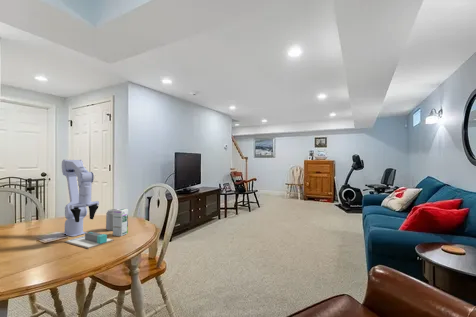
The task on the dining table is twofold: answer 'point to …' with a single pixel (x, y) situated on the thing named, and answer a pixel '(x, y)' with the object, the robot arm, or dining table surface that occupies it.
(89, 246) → the notepad
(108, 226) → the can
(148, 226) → the dining table surface
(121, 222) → the syrup box
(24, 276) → the dining table surface
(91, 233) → the grey teal rectangular block
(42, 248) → the dining table surface
